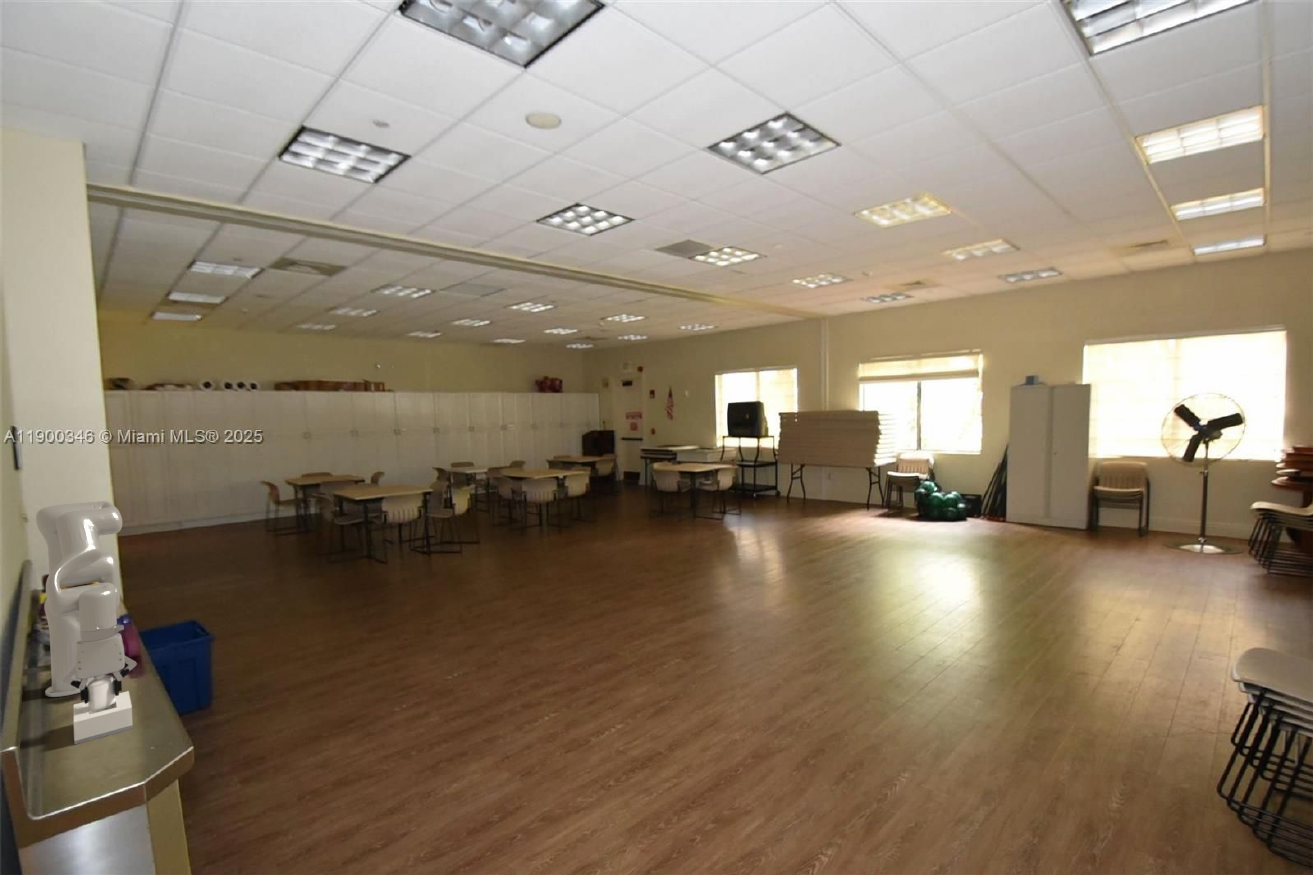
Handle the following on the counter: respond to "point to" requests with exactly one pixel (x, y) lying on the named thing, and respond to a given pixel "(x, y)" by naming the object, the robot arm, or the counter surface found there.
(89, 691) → the eye dropper bottle
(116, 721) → the keyed holder
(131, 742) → the counter surface
